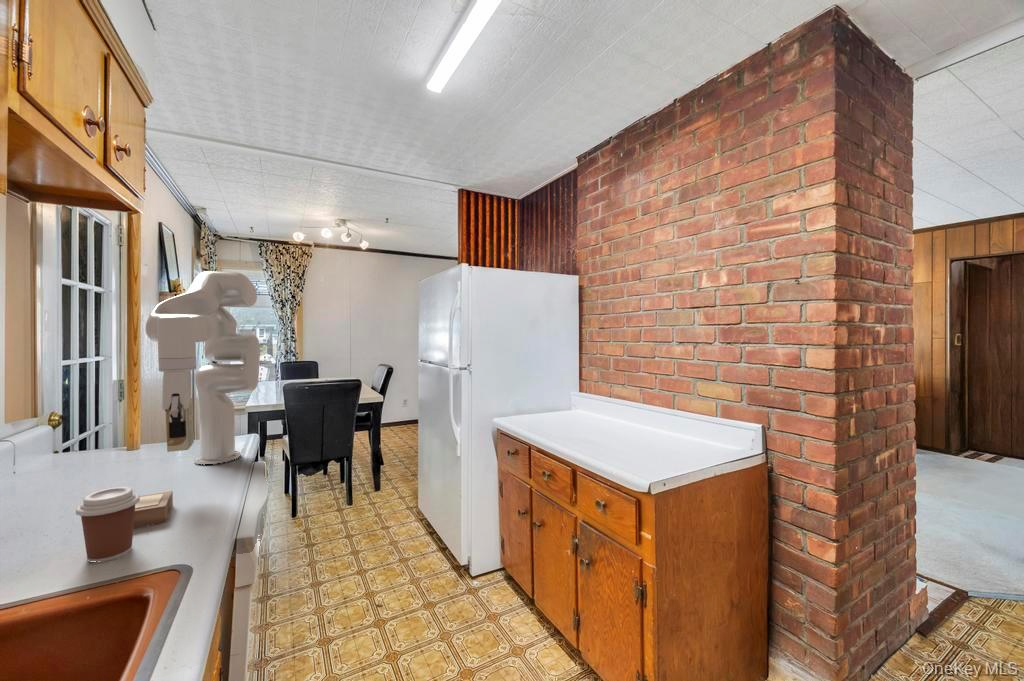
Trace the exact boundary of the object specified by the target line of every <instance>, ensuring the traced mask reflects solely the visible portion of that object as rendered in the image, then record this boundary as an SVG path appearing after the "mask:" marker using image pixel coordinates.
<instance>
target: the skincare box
mask: <svg viewBox="0 0 1024 681" xmlns="http://www.w3.org/2000/svg"><path fill="white" fill-rule="evenodd" d="M179 401H180V399H179ZM182 406H183V405H182V404H179V406H178V409H182ZM165 411H166V412H165V427H166V430H165V431H166V450H167V453H170V452H180V451H188V450H189V449H190V448H191V447H192V445H194V443H195V440H194V439H195V434H194V416H193V414H194V412H193V398H192V397H191V399H190V402H189V406H188V408H187V409H186V410H184V421H186V436H185V437H179V438H170V437H169V418H170V407H169V409H168V410H165ZM180 413H181V412H180Z"/></svg>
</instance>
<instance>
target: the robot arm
mask: <svg viewBox="0 0 1024 681" xmlns="http://www.w3.org/2000/svg"><path fill="white" fill-rule="evenodd" d="M257 299H258V292H257V289H256V286H255V285H254V283H253V282H252V281H251V280H250V279H249V277H248V276H246V275H245V274H243V273H241V272H236V271H215V270H213V271H212V270H207V271H203V272H199V273H198V275H197V276H196V277H195V279H194V280H193V281H192V283H191V285H190V286H189V288H188V290H187V291H186V292H185V293H182V294H181V293H180V294H179V295H176V296H173V297H171V298H168V299H165V300H164V301H161V302H159V303H158V304H157V305H156V306H155V307H154V308H153V309H152V311H151V313H150V314H149V316H148V318H147V320H146V322H145V333H146V335H147V337H148V338H149V339H150V340H151V341H153V342H156V343H157V356H158V358H157V360H158V372H161V373H163V375H162V376H163V377H162V392H161V393H162V401H161V402H162V403H161V404H162V406H161V408H162V411H163V412H164V413H166V411H165V410H168V409H169V407H170V418H169V437H170V438H179V437H185V436H186V421H184V410H186V409H187V408H188V406H189V402H190V399H191V398H192V371H195V370H197V371H196V372H195V375H194V379H195V380H194V381H195V386H196V390H197V397H198V409H199V411H198V412H199V443H200V444H199V451H200V452H199V454H200V455H198V456H196V457H195V458H194V464H196V465H199V464H201V466H206V465H205V464H213V465H218V464H217V463H220V464H224V463H223V462H225V463H229V462H232V461H231V460H233V461H235V460H237V459H239V458H240V457H241V456H240V455H241V451H240V450H239V451H238V450H236V437H235V436H236V433H235V432H236V429H235V425H236V424H235V419H236V418H235V404H234V402H233V401H232V399H231V398H230V397H229V396H228V395H227V394H229V393H230V394H231V393H232V394H233V393H249V392H253V391H255V390H256V389H257V388H258V385H259V377H260V360H261V359H260V358H261V345H260V341H259V338H258V336H256V335H254V334H253V333H252V334H251V333H237V325H238V324H237V323H238V322H237V320H236V318H235V317H234V315H232V314H231V313H230V312H229V311H228V310H227V309H226V308H225V307H228V308H229V307H230V308H233V307H234V308H250V307H253V306H254V305H255V304H256V302H257ZM196 343H204V347H203V348H204V357H205V358H206V359H207V360H208V361H211V362H217V363H218V362H220V364H219V363H218V364H207V365H203V366H201V367H199V368H198V369H197V351H196V348H197V346H196ZM221 362H222V363H221ZM223 362H225V363H223ZM226 362H229V363H226ZM230 362H241V363H233V364H232V363H231V364H230ZM179 399H180V401H179ZM179 404H182V405H183V406H182V409H178V406H179ZM180 412H181V413H180ZM239 456H240V457H239ZM238 457H239V458H238ZM236 458H237V459H236ZM234 459H235V460H234ZM228 461H229V462H228ZM202 464H203V465H202Z"/></svg>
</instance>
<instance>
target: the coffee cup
mask: <svg viewBox="0 0 1024 681" xmlns="http://www.w3.org/2000/svg"><path fill="white" fill-rule="evenodd" d="M139 496H140V494H138V493H135V492H133V488H131V487H130V486H129V487H128V486H118V487H110V488H106V489H101V490H98V491H94V492H92V493H89V494H87V495H86V496H84V497H83V499H82V500H83V501H82V502H81V503H80V504H79V505H78V506H76V508H75V514H76V515H77V516H80V518H81V525H82V531H83V539H84V545H85V553H86V559H87V560H89V561H96V562H98V561H106V562H109V561H112V559H113V560H116V559H119V558H120V557H123V556H125V555H127V554H128V553H130V552H131V551H132V550H133V538H134V536H133V535H134V528H133V527H134V515H135V504H136V503H138V502H139V501H140V497H139ZM131 549H132V550H131ZM130 550H131V551H130ZM118 557H119V558H118ZM87 560H86V561H87ZM108 560H109V561H108Z"/></svg>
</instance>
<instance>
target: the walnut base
mask: <svg viewBox="0 0 1024 681" xmlns="http://www.w3.org/2000/svg"><path fill="white" fill-rule="evenodd" d="M139 497H140V501H139V502H138V503H136V504H135V515H134V527H133V529H138V528H137V527H139V528H143V527H142V526H144V527H148V526H147V525H150V526H153V525H152V524H155V525H160V524H165V523H164V522H166V523H167V521H168V518H169V516H170V513H171V512H170V511H172V509H173V507H174V503H173V502H174V498H173V497H174V496H173V491H172V490H169V491H164V492H157V493H151V494H145V495H139ZM166 520H167V521H166ZM159 523H160V524H159Z"/></svg>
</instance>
